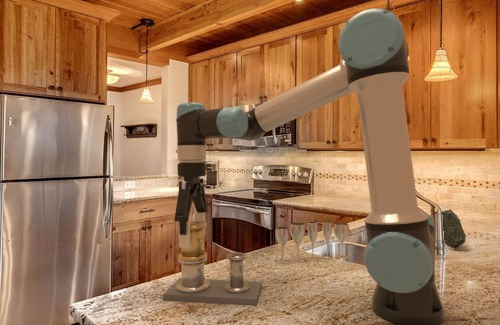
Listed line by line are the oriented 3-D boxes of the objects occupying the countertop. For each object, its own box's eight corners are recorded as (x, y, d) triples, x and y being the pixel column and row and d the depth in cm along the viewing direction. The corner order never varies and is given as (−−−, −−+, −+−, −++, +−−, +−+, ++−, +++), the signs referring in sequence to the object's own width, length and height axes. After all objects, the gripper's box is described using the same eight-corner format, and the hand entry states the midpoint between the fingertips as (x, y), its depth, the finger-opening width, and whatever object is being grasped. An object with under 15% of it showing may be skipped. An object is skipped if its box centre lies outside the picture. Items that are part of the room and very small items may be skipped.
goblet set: (279, 265, 118) (278, 226, 118) (273, 260, 123) (273, 223, 123) (353, 258, 125) (353, 221, 125) (344, 254, 131) (344, 218, 131)
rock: (443, 249, 148) (433, 216, 152) (459, 247, 146) (448, 213, 151) (452, 247, 132) (441, 209, 136) (470, 244, 130) (458, 206, 135)
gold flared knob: (210, 253, 98) (210, 221, 98) (202, 262, 90) (202, 226, 90) (183, 252, 99) (183, 220, 99) (174, 260, 91) (173, 226, 91)
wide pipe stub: (213, 281, 99) (213, 253, 98) (204, 294, 90) (204, 262, 90) (182, 280, 100) (182, 252, 100) (170, 292, 91) (170, 261, 91)
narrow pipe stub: (250, 285, 96) (250, 252, 96) (246, 294, 89) (246, 258, 89) (227, 284, 97) (227, 251, 96) (222, 292, 90) (221, 257, 90)
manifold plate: (262, 287, 98) (262, 282, 98) (256, 305, 86) (256, 299, 86) (179, 283, 102) (179, 278, 102) (163, 300, 90) (162, 294, 90)
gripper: (192, 161, 107) (194, 231, 107) (159, 162, 83) (161, 253, 83) (216, 161, 106) (218, 231, 106) (190, 162, 81) (192, 253, 82)
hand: (193, 241), depth 95 cm, fingers open, 13 cm apart
